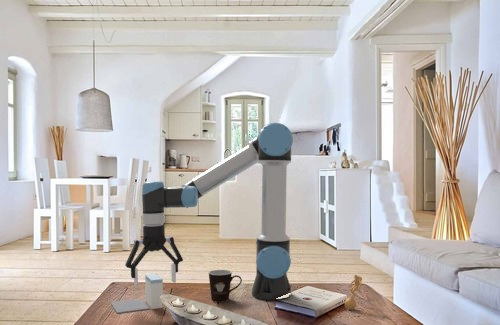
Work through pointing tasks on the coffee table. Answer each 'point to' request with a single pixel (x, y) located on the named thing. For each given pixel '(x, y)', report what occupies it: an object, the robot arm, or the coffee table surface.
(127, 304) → the felt mat
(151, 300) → the slab
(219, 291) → the coffee mug
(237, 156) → the robot arm
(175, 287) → the coffee table surface
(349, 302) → the figurine
